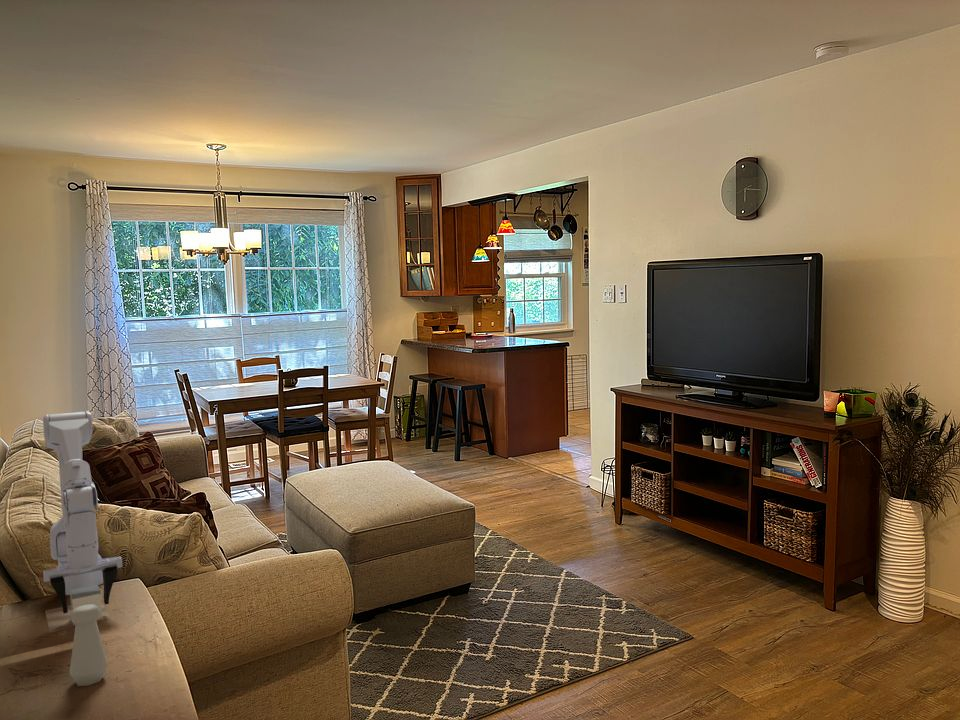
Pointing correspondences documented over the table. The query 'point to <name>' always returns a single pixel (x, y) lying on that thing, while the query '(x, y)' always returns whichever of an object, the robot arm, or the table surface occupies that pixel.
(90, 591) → the matte gray cube
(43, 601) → the table surface
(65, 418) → the robot arm
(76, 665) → the salt shaker
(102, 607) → the stand
